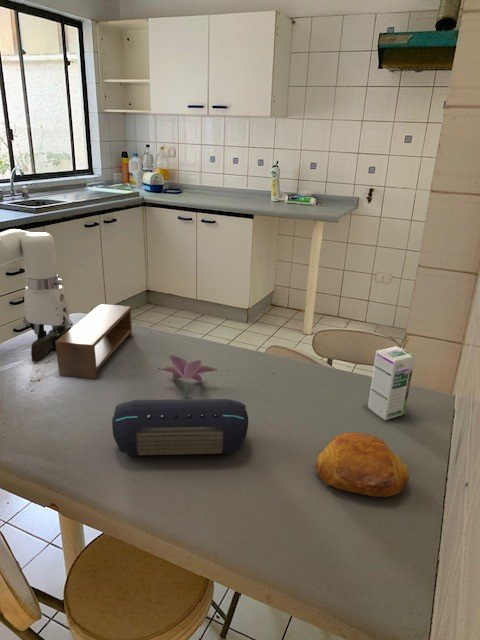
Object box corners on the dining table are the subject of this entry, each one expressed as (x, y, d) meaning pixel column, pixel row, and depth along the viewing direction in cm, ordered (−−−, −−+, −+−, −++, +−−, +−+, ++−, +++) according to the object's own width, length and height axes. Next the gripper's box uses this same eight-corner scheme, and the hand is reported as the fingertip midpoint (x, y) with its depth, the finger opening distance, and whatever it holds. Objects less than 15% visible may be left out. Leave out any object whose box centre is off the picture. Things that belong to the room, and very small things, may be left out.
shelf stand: (59, 375, 111) (55, 341, 108) (102, 332, 135) (100, 303, 132) (95, 379, 110) (92, 345, 107) (132, 335, 134) (130, 306, 131)
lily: (223, 395, 108) (221, 354, 109) (195, 398, 98) (193, 353, 99) (180, 396, 113) (179, 357, 115) (150, 400, 103) (148, 356, 104)
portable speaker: (109, 468, 82) (105, 420, 78) (118, 433, 91) (115, 389, 87) (249, 464, 84) (252, 418, 80) (244, 431, 93) (247, 388, 90)
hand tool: (59, 332, 134) (57, 318, 132) (72, 334, 133) (71, 319, 132) (22, 362, 116) (20, 346, 115) (37, 364, 116) (35, 347, 114)
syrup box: (385, 421, 99) (396, 360, 93) (366, 407, 104) (376, 349, 98) (404, 415, 101) (417, 355, 96) (385, 401, 106) (396, 344, 101)
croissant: (401, 522, 76) (417, 486, 72) (308, 490, 79) (320, 454, 75) (398, 464, 89) (412, 431, 85) (319, 438, 91) (329, 406, 88)
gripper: (80, 280, 121) (86, 344, 128) (20, 275, 122) (29, 338, 129) (66, 289, 114) (73, 356, 121) (3, 283, 115) (14, 350, 122)
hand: (50, 346), depth 125 cm, fingers closed on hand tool, 3 cm apart
